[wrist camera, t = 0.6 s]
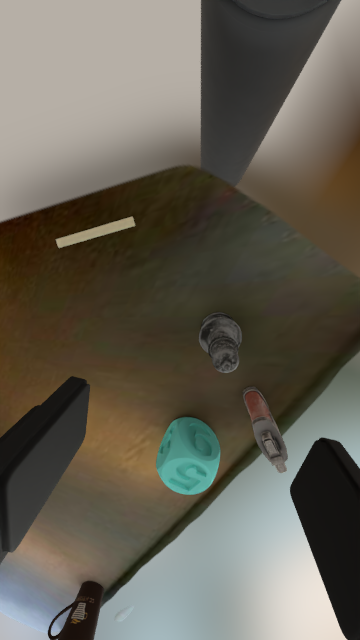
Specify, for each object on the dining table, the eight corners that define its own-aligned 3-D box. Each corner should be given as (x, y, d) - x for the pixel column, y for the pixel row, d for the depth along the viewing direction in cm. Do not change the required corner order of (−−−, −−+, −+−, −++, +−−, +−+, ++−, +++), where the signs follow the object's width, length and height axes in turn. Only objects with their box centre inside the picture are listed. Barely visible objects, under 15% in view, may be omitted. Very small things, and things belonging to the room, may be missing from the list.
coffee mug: (111, 585, 58) (93, 650, 48) (103, 600, 61) (85, 664, 51) (71, 571, 58) (45, 634, 48) (65, 586, 60) (40, 649, 51)
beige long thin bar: (132, 216, 29) (132, 216, 29) (135, 225, 29) (135, 225, 29) (55, 239, 31) (55, 239, 31) (59, 248, 31) (58, 248, 31)
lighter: (275, 420, 37) (301, 478, 27) (256, 426, 38) (275, 485, 28) (257, 383, 35) (279, 432, 25) (238, 390, 36) (252, 440, 26)
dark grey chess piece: (241, 341, 33) (263, 387, 22) (204, 349, 34) (207, 399, 23) (232, 305, 31) (250, 336, 20) (194, 316, 32) (191, 350, 21)
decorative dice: (160, 438, 40) (151, 481, 33) (179, 409, 38) (174, 448, 30) (197, 456, 41) (196, 502, 33) (218, 428, 38) (223, 471, 31)
